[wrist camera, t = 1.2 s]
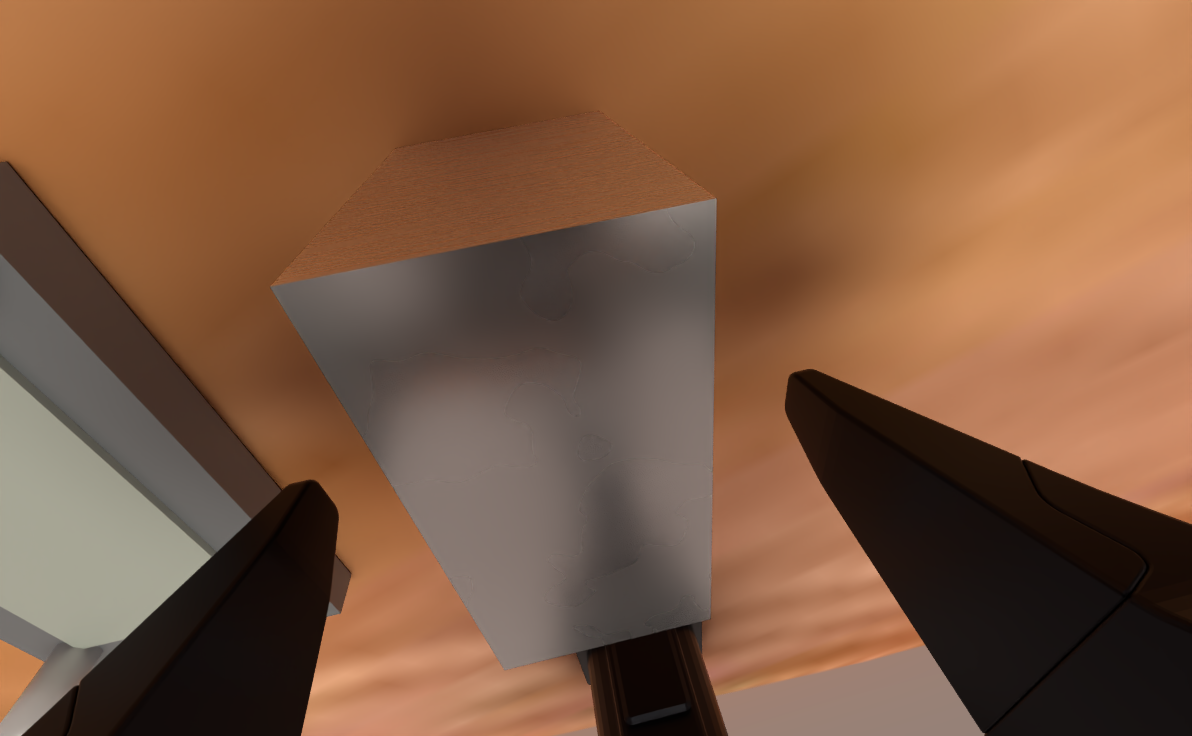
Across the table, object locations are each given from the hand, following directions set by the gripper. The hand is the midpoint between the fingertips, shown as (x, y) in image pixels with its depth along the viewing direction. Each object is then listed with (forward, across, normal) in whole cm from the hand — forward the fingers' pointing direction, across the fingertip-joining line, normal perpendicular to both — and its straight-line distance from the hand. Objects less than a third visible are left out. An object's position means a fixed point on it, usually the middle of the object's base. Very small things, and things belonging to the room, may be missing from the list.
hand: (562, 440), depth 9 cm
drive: (+5, 0, 0) cm, 5 cm away
